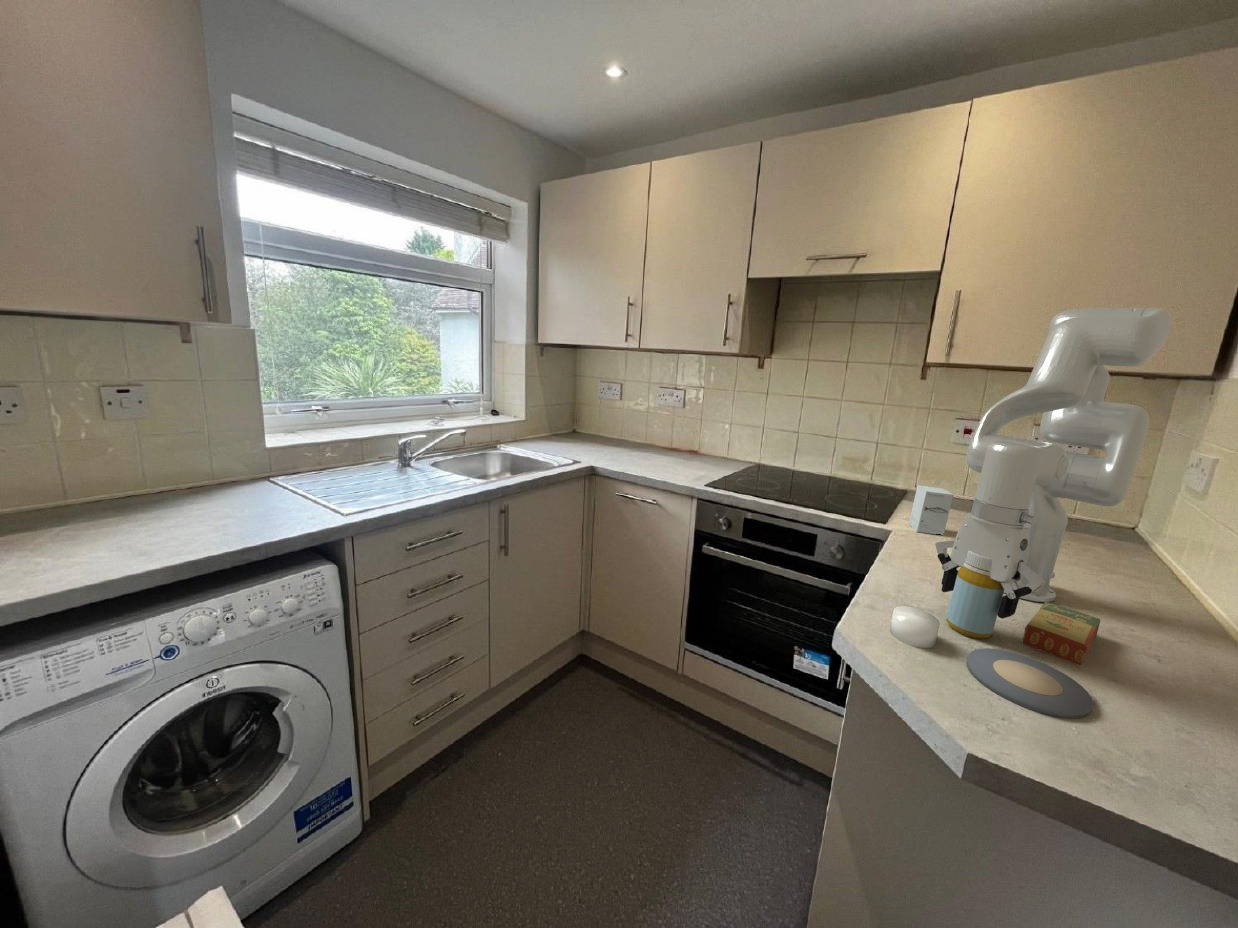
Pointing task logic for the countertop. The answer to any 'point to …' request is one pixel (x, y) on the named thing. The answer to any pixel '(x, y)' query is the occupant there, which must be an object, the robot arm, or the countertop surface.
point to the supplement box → (930, 510)
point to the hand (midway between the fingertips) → (974, 603)
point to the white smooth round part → (914, 627)
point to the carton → (1062, 632)
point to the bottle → (975, 599)
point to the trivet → (1029, 683)
